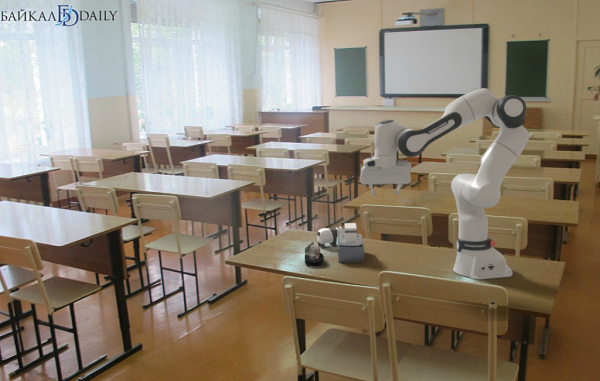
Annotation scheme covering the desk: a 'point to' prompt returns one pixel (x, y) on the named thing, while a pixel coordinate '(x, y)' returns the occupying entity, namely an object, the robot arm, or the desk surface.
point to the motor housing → (350, 250)
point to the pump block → (350, 232)
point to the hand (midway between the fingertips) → (385, 194)
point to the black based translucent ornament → (313, 256)
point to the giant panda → (329, 236)
